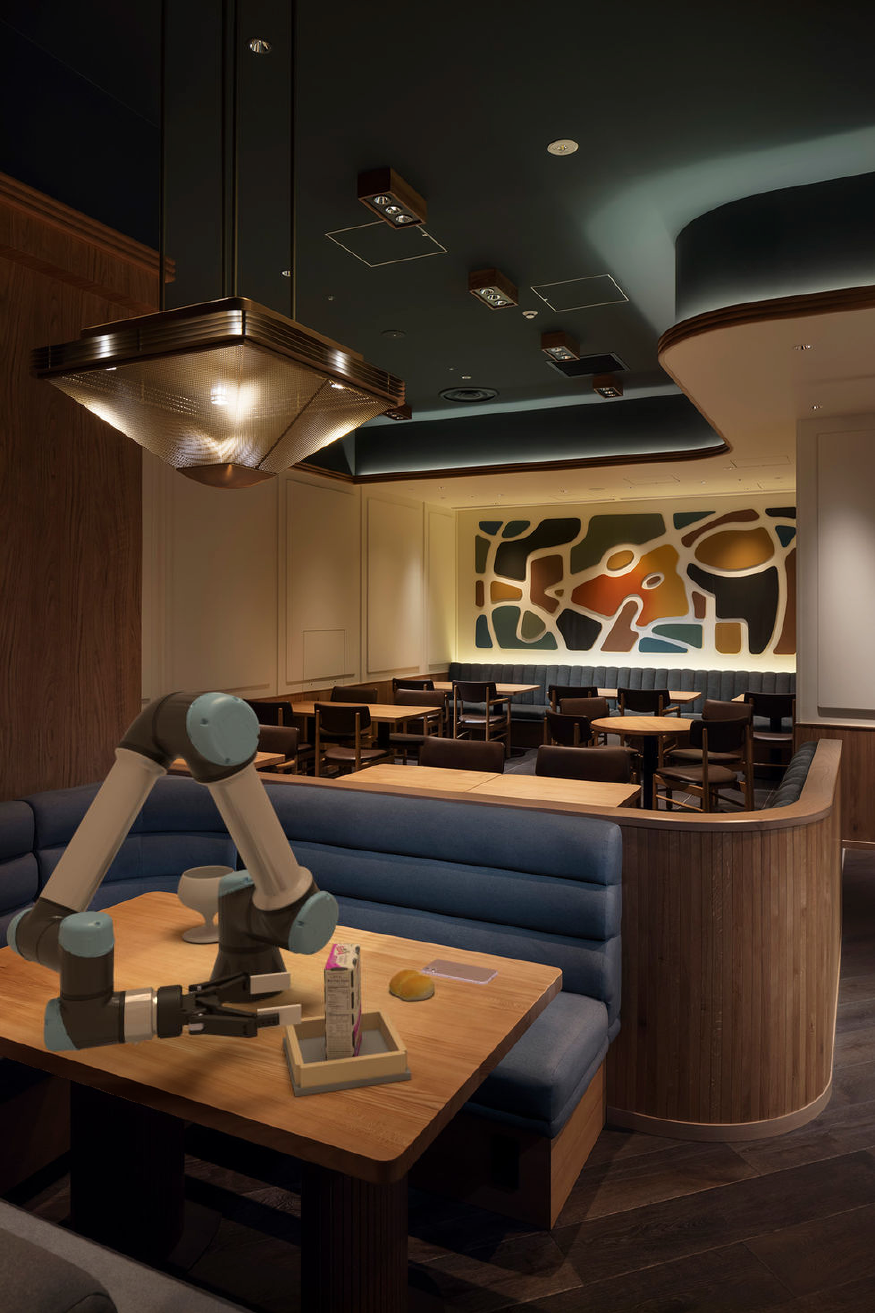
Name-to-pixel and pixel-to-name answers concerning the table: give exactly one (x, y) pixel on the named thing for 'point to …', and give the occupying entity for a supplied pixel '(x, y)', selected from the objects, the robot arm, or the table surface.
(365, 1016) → the shallow square tray
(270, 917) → the robot arm
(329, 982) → the candy bar box
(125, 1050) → the table surface
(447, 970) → the mobile phone
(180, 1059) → the table surface
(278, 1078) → the table surface
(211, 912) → the chalice
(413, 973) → the bread roll
